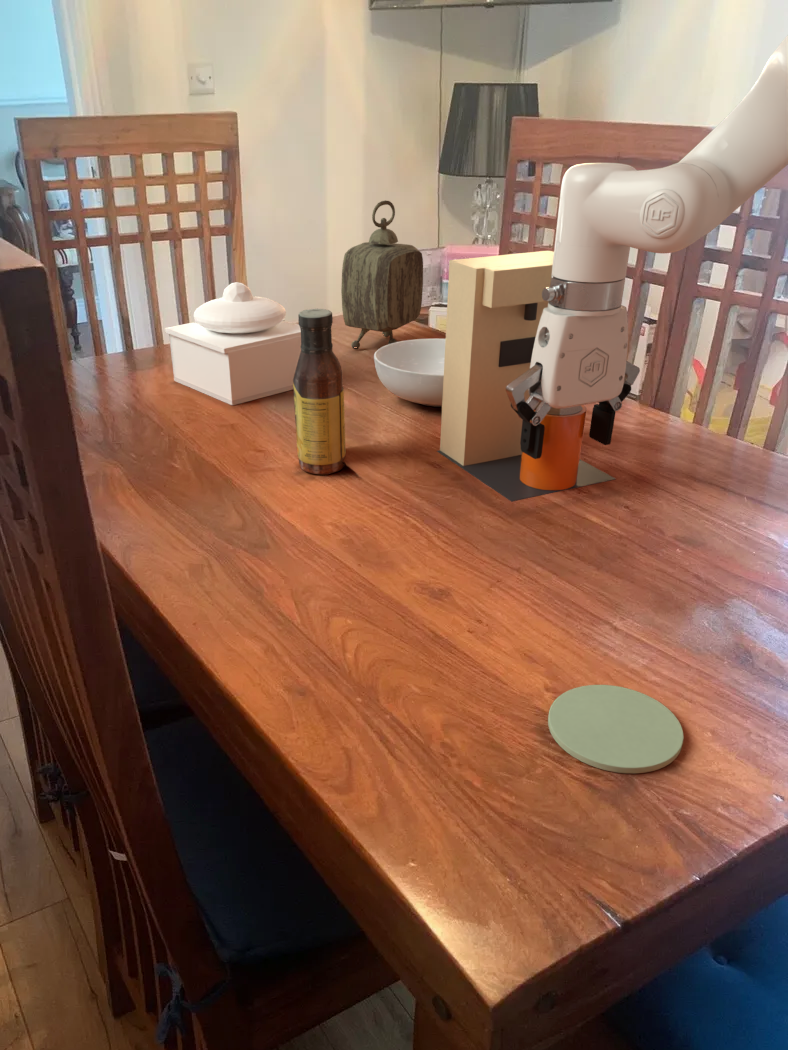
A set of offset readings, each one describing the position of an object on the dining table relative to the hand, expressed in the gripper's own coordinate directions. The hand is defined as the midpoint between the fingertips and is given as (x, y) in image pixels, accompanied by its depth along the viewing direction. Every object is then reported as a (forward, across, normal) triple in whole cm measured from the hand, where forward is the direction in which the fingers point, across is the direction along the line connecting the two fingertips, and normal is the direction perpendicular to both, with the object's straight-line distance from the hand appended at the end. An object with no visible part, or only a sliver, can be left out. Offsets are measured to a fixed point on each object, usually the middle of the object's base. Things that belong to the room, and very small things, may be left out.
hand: (565, 447), depth 100 cm
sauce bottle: (+7, -22, +21) cm, 31 cm away
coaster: (+6, -22, -37) cm, 43 cm away
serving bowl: (+7, +6, +39) cm, 40 cm away
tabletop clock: (+7, +12, +71) cm, 72 cm away
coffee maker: (+6, 0, +8) cm, 10 cm away
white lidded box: (+7, -19, +61) cm, 64 cm away
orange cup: (+5, 0, +3) cm, 6 cm away
